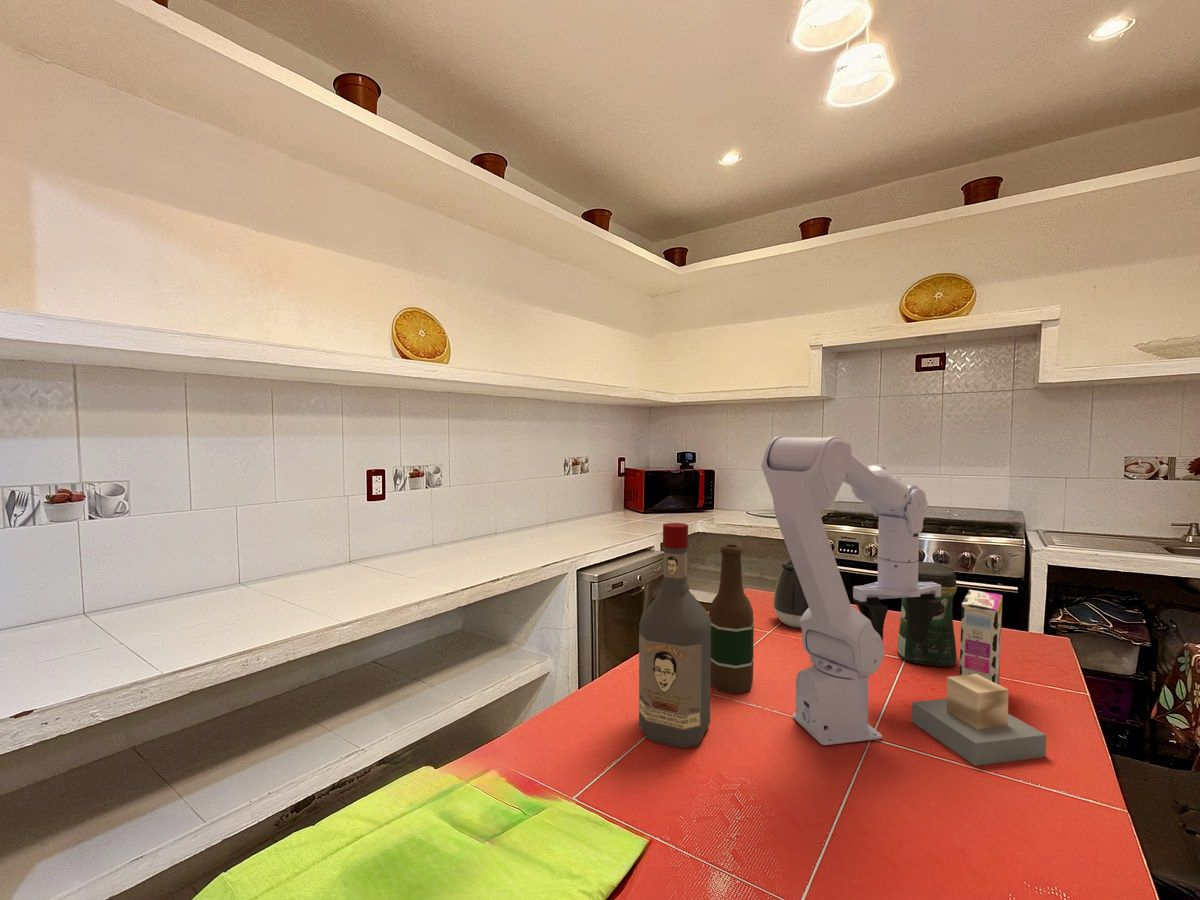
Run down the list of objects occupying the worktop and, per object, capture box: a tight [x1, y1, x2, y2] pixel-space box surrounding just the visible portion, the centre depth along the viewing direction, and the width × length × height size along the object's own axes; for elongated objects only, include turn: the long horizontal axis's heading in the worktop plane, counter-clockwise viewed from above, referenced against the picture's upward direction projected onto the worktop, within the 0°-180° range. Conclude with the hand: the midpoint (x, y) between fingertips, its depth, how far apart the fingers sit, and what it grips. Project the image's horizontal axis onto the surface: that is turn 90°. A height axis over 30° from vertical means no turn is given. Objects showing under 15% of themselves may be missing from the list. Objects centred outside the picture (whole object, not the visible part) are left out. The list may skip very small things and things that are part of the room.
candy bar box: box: [958, 589, 1003, 685], centre depth 89 cm, size 11×5×16 cm, turn 141°
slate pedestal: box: [911, 698, 1047, 767], centre depth 77 cm, size 11×11×3 cm
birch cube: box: [946, 674, 1009, 729], centre depth 77 cm, size 5×5×5 cm
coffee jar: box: [897, 561, 958, 667], centre depth 104 cm, size 10×8×19 cm
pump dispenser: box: [772, 557, 809, 629], centre depth 123 cm, size 10×10×15 cm
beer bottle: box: [708, 543, 755, 695], centre depth 93 cm, size 8×8×24 cm
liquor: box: [638, 522, 712, 749], centre depth 79 cm, size 9×9×30 cm
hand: (896, 642), depth 88 cm, fingers open, 7 cm apart
